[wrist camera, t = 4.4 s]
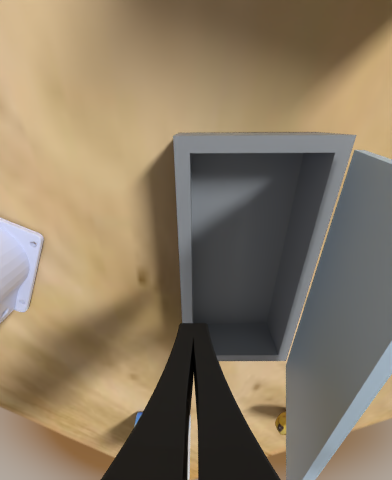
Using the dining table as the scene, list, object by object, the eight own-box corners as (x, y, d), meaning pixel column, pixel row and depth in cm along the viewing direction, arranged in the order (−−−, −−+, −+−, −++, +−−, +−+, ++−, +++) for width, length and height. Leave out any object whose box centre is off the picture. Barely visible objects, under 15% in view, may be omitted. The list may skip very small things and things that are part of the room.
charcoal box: (185, 324, 23) (184, 361, 19) (178, 132, 14) (173, 135, 11) (271, 323, 23) (285, 360, 19) (316, 132, 14) (356, 135, 11)
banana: (263, 398, 30) (272, 435, 26) (278, 392, 29) (290, 429, 25) (301, 424, 33) (313, 459, 30) (315, 419, 32) (329, 455, 29)
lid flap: (286, 504, 12) (294, 508, 11) (483, 199, 4) (516, 201, 3) (285, 365, 18) (291, 367, 18) (354, 149, 10) (364, 150, 10)
